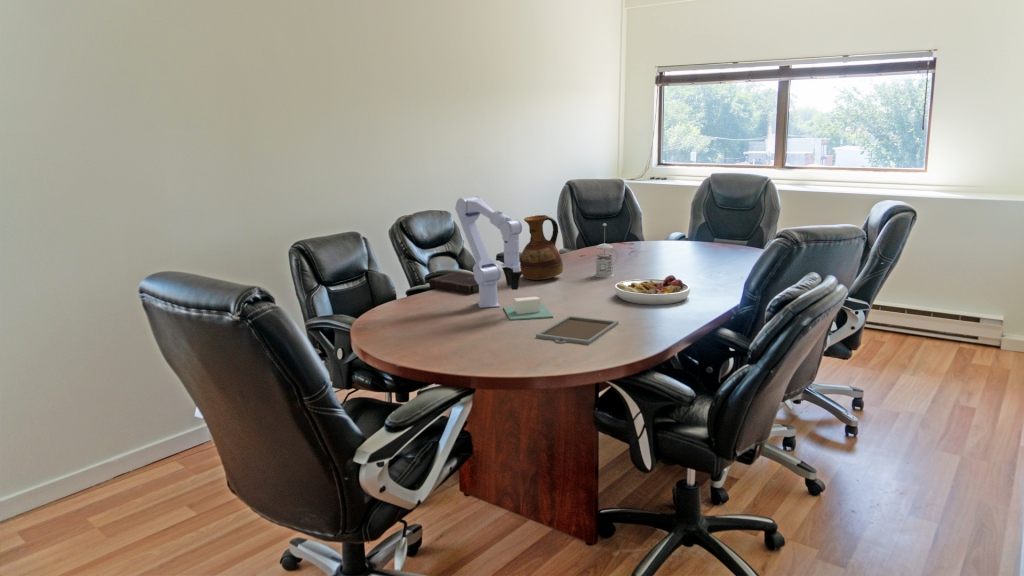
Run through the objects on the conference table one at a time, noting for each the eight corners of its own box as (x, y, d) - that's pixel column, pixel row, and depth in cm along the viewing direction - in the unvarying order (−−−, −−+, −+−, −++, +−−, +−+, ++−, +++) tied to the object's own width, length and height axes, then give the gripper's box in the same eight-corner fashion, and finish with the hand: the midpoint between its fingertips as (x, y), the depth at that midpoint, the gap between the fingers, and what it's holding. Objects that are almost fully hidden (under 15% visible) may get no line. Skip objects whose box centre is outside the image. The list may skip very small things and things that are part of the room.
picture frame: (618, 321, 242) (586, 343, 217) (618, 325, 243) (585, 348, 217) (569, 315, 252) (531, 336, 226) (569, 319, 252) (532, 341, 226)
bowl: (658, 310, 261) (658, 290, 259) (599, 298, 283) (599, 279, 281) (704, 297, 279) (705, 279, 278) (646, 287, 302) (646, 269, 300)
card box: (536, 309, 264) (536, 296, 263) (540, 311, 260) (540, 298, 258) (514, 311, 261) (513, 298, 260) (517, 314, 257) (517, 301, 256)
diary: (469, 297, 293) (468, 285, 292) (429, 289, 309) (428, 278, 308) (498, 288, 306) (497, 277, 305) (458, 281, 322) (458, 271, 321)
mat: (503, 308, 268) (503, 307, 268) (543, 306, 270) (543, 304, 270) (510, 320, 251) (510, 318, 250) (553, 317, 253) (553, 316, 253)
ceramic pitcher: (513, 277, 328) (512, 214, 322) (550, 272, 337) (550, 211, 330) (532, 284, 311) (531, 218, 305) (570, 279, 319) (570, 215, 313)
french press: (590, 274, 330) (590, 222, 325) (612, 272, 334) (613, 221, 328) (599, 278, 321) (599, 225, 316) (621, 276, 324) (622, 223, 319)
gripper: (497, 249, 265) (498, 284, 268) (505, 255, 251) (506, 292, 254) (515, 248, 266) (516, 283, 269) (523, 254, 252) (524, 290, 255)
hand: (512, 287), depth 262 cm, fingers open, 7 cm apart
